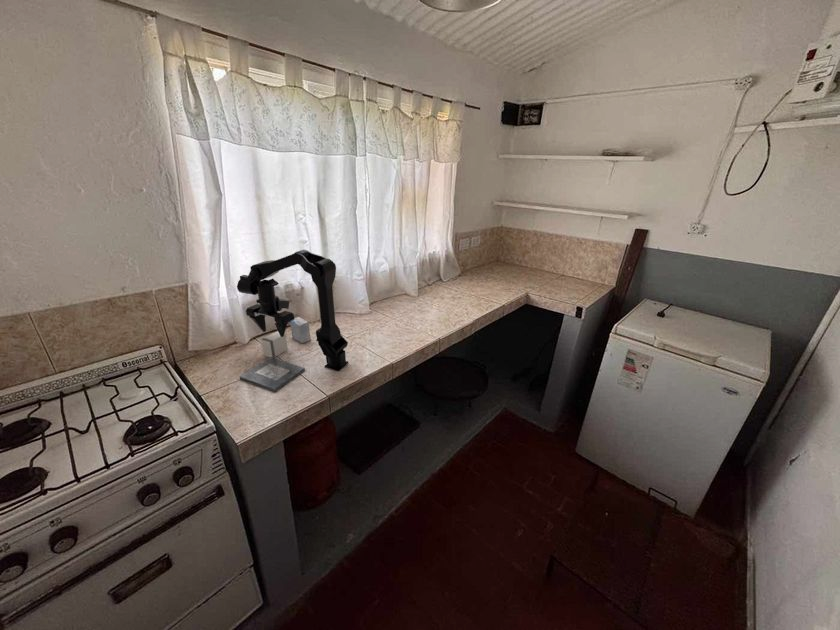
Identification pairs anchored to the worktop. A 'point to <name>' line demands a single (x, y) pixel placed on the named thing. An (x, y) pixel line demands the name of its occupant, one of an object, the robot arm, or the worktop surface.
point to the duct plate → (272, 374)
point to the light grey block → (274, 344)
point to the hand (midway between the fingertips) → (273, 334)
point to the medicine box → (300, 330)
